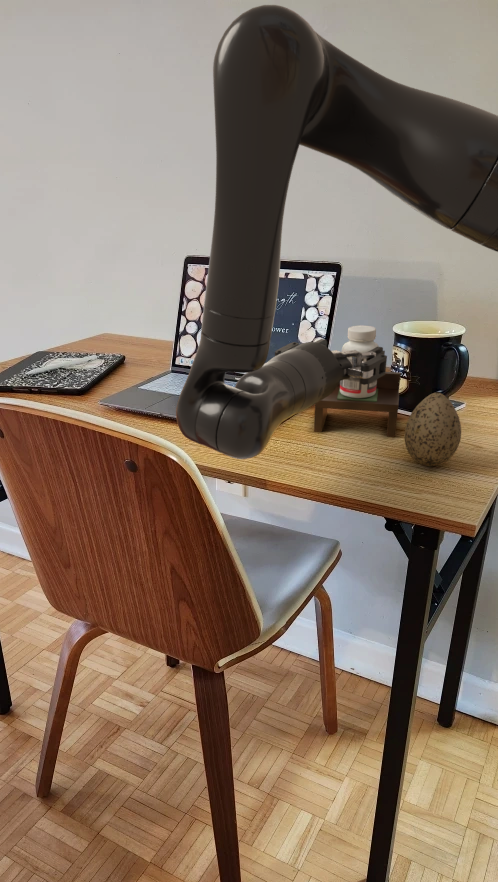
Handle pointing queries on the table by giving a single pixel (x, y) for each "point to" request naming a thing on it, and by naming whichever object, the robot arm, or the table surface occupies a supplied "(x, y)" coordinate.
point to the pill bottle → (361, 342)
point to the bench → (365, 402)
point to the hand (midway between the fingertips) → (351, 349)
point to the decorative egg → (433, 431)
